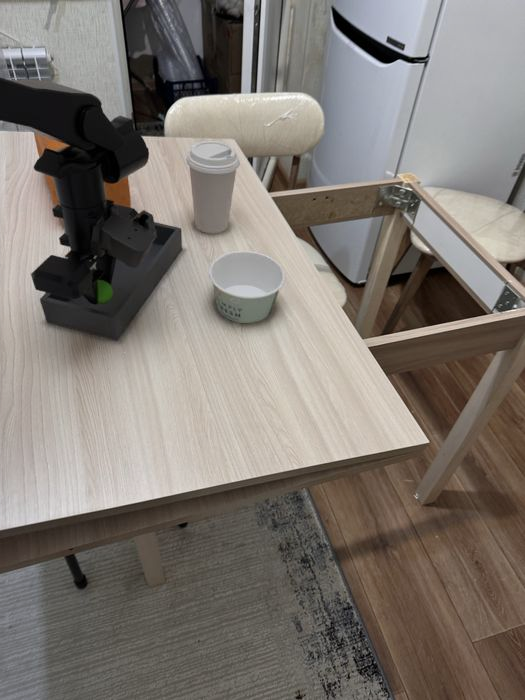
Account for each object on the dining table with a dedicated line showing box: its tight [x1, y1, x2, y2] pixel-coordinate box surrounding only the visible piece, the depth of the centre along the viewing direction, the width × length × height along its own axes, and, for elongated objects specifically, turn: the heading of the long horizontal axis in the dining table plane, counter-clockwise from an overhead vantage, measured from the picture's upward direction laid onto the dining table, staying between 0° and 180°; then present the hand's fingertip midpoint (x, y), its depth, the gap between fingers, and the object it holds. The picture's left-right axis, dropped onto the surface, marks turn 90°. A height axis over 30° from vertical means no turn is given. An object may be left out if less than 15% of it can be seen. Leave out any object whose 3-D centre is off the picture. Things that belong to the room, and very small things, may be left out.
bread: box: [33, 132, 132, 225], centre depth 94 cm, size 14×26×16 cm, turn 25°
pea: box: [97, 280, 113, 304], centre depth 70 cm, size 4×4×4 cm
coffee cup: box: [185, 140, 241, 235], centre depth 91 cm, size 10×10×15 cm
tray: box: [39, 221, 183, 342], centre depth 80 cm, size 12×26×4 cm, turn 165°
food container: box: [208, 250, 286, 324], centre depth 78 cm, size 12×12×6 cm
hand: (100, 295), depth 71 cm, fingers closed on pea, 3 cm apart
